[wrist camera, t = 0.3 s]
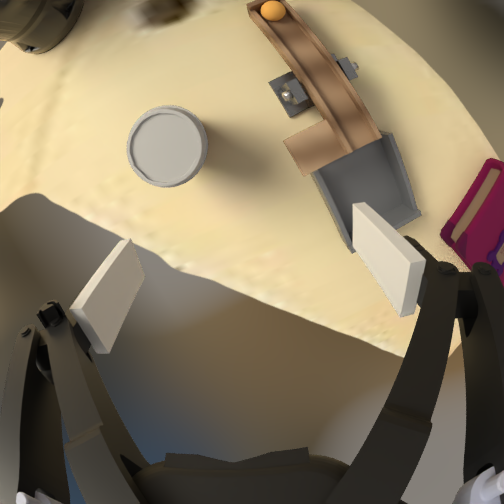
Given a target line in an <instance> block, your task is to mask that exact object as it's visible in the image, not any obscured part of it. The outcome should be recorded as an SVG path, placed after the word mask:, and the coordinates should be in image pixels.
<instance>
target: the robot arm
mask: <svg viewBox="0 0 504 504" xmlns="http://www.w3.org/2000/svg"><path fill="white" fill-rule="evenodd" d="M83 2H84V0H0V40H2V41H10V42H11V43H12V44H14V45H15V46H16V47H18V48H19V49H20V50H22V51H23V52H26V53H32V54H40V53H43V52H46V51H48V50H50V49H51V48H53V47H54V46H56V45H57V44H58V43H59V42H60V41H61V40H62V39H63V38H64V37H65V36H66V35H67V34H68V33H69V31H70V30H71V29H72V27H73V26H74V24H75V23H76V21H77V19H78V17H79V15H80V13H81V10H82V7H83ZM353 248H354V249H355V250H356V252H357V253H358V255H359V256H360V257H361V259H362V260H363V262H364V263H365V265H366V266H367V268H368V269H369V271H370V272H371V274H372V275H373V277H374V278H375V280H376V281H377V283H378V284H379V286H380V287H381V289H382V290H383V292H384V293H385V295H386V296H387V298H388V300H389V301H390V303H391V304H392V306H393V307H394V309H395V311H396V312H397V314H398V316H399V317H404V316H408V315H411V314H414V312H415V308H416V305H417V303H418V305H419V306H420V308H421V309H420V313H419V316H418V319H417V322H416V326H415V329H414V332H413V335H412V338H411V341H410V344H409V347H408V349H407V352H406V355H405V357H404V360H403V363H402V365H401V368H400V370H399V373H398V375H397V378H396V380H395V382H394V385H393V387H392V389H391V392H390V394H389V396H388V398H387V400H386V402H385V405H384V407H383V408H382V410H381V412H380V414H379V416H378V418H377V420H376V422H375V424H374V426H373V428H372V430H371V431H370V433H369V435H368V437H367V439H366V441H365V442H364V444H363V446H362V448H361V449H360V451H359V453H358V454H357V456H356V457H355V459H354V461H353V462H352V464H351V465H350V466H349V465H347V464H345V463H343V462H342V461H339V460H336V459H334V458H330V457H327V456H321V455H312V454H309V453H308V447H305V448H299V449H292V450H284V451H275V452H270V453H266V454H263V455H260V456H257V457H253V458H250V459H246V460H243V461H239V462H227V461H222V460H218V459H213V458H209V457H205V456H201V455H194V454H175V453H166V457H165V461H161V462H158V463H155V464H152V465H150V464H149V463H148V462H147V461H146V460H145V458H144V457H143V455H142V454H141V452H140V451H139V449H138V447H137V446H136V444H135V443H134V441H133V439H132V437H131V436H130V434H129V432H128V430H127V429H126V427H125V425H124V423H123V421H122V420H121V418H120V416H119V414H118V412H117V410H116V408H115V406H114V404H113V402H112V400H111V398H110V396H109V394H108V392H107V390H106V388H105V385H104V383H103V381H102V378H101V376H100V374H99V372H98V369H97V367H96V364H95V362H94V359H93V357H92V355H91V353H90V352H89V348H90V345H92V347H93V348H94V350H95V351H96V353H110V350H111V348H112V346H113V343H114V341H115V339H116V337H117V334H118V332H119V330H120V327H121V326H122V323H123V321H124V319H125V317H126V315H127V313H128V310H129V308H130V306H131V304H132V302H133V300H134V298H135V296H136V294H137V292H138V290H139V288H140V286H141V284H142V282H143V280H144V278H145V275H144V272H143V270H142V267H141V265H140V262H139V259H138V256H137V254H136V251H135V248H134V245H133V243H132V240H131V238H130V239H125V240H121V241H120V242H119V243H118V244H117V246H116V247H115V248H114V249H113V250H112V252H111V253H110V254H109V256H108V257H107V258H106V259H105V261H104V262H103V263H102V264H101V266H100V267H99V268H98V270H97V271H96V272H95V274H94V275H93V276H92V278H91V279H90V281H89V282H88V283H87V285H86V286H85V287H83V288H82V289H81V291H80V292H79V293H78V296H77V297H76V298H75V299H74V301H73V302H72V303H71V305H70V306H69V308H68V309H67V311H66V312H65V313H64V311H63V309H62V308H61V306H60V304H59V302H58V301H57V300H50V301H48V302H46V303H45V304H44V305H42V306H41V307H40V308H39V310H38V311H37V316H38V318H39V319H40V321H41V322H42V324H43V326H44V327H45V329H44V330H41V331H38V330H37V328H36V326H35V325H34V324H29V325H26V326H24V327H23V328H22V329H21V330H20V332H19V333H18V335H17V338H16V341H15V345H14V348H13V352H12V356H11V360H10V364H9V369H8V373H7V378H6V383H5V388H4V394H3V400H2V407H1V414H0V504H70V493H69V486H68V481H67V474H66V468H65V459H64V450H63V439H62V424H61V413H62V417H63V420H64V424H65V427H66V430H67V433H68V436H69V439H70V442H68V443H66V444H65V445H64V449H65V453H66V456H67V459H68V461H69V464H70V467H71V470H72V472H73V475H74V477H75V480H76V482H77V484H78V487H79V489H80V491H81V493H82V496H83V497H84V499H85V502H86V504H407V503H406V502H404V501H402V500H401V499H400V498H401V496H402V495H403V493H404V491H405V489H406V487H407V485H408V483H409V481H410V479H411V477H412V475H413V473H414V471H415V469H416V467H417V465H418V462H419V460H420V458H421V455H422V453H423V451H424V448H425V446H426V443H427V441H428V438H429V435H430V432H431V429H432V423H431V417H432V414H433V411H434V408H435V405H436V401H437V398H438V395H439V391H440V387H441V384H442V380H443V376H444V372H445V368H446V364H447V359H448V354H449V350H450V344H451V339H452V333H453V327H454V320H455V318H458V322H459V328H460V334H461V341H462V349H463V358H464V367H465V382H466V439H465V454H464V468H463V475H464V485H463V486H462V487H461V488H460V489H459V491H458V492H457V494H456V496H455V499H454V501H453V503H452V504H504V287H503V284H502V282H501V280H500V277H499V275H498V273H497V271H496V270H495V268H494V267H492V266H491V265H490V264H487V263H486V262H476V263H474V264H473V266H472V269H471V272H459V271H458V269H457V268H456V266H454V265H453V264H451V263H448V262H443V261H439V262H438V261H437V260H436V259H435V258H434V257H433V256H432V255H431V254H430V253H429V252H428V251H427V250H425V248H424V247H422V246H421V245H420V244H419V243H418V242H417V241H416V240H415V239H413V238H411V237H409V236H402V235H400V234H399V233H398V232H397V231H396V230H395V229H394V228H393V227H392V226H391V225H390V224H389V223H388V222H386V221H385V220H384V219H383V218H382V217H381V216H380V215H379V214H378V213H376V212H375V211H374V210H373V209H372V208H371V207H370V206H368V205H367V204H366V203H365V202H362V203H354V204H353ZM38 368H39V369H38Z"/></svg>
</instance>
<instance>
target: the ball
mask: <svg viewBox="0 0 504 504" xmlns="http://www.w3.org/2000/svg"><path fill="white" fill-rule="evenodd" d="M285 13H286V10H285V7H284V5H283V4H282V3H280V2H278V1H268V2H266V3H264V4H263V5H262V7H261V14H262V16H263V17H264V18H265V19H267V20H270V21H277V20H280V19H282V18H283V17H284V15H285Z"/></svg>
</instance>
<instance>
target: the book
mask: <svg viewBox="0 0 504 504" xmlns="http://www.w3.org/2000/svg"><path fill="white" fill-rule="evenodd" d="M440 236H441V238H442V239H443V240H444V241H445V242H446V244H447V245H448V246H450V247H451V248H452V249H453V250H454V251H455V252H456V254H457V255H458V256H459V257H460V258H461V259H462V261H463V262H464V263H465V264H466V266H467V267H468V268H469V269H470V271H471V269H472V266H473V264H474V263H476V262H486V263H487V264H490V265H491V266H492V267H494V268H495V270H496V271H497V273H498V275H499V277H500V280H501V282H502V284H503V287H504V162H502V161H499V160H497V159H493V158H490V159H487V160H486V162H485V163H484V165H483V167H482V169H481V170H480V172H479V174H478V176H477V177H476V179H475V181H474V182H473V184H472V186H471V187H470V189H469V191H468V192H467V194H466V195H465V197H464V198H463V200H462V202H461V203H460V205H459V206H458V208H457V209H456V211H455V212H454V214H453V215H452V216H451V218H450V219H449V220H448V221H447V223H446V224H445V226H444V227H443V228H442V230H441V233H440Z"/></svg>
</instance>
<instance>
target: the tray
mask: <svg viewBox="0 0 504 504" xmlns="http://www.w3.org/2000/svg"><path fill="white" fill-rule="evenodd" d="M379 132H380V134H381V136H382V138H380V139H377V140H375V141H373V142H371V143H368V144H366V145H364V146H362V147H360V148H358V149H356V150H354V151H353V152H351V153H349V154H346V155H344V156H342V157H340V158H338V159H336V160H334V161H333V162H331V163H329V164H327V165H325V166H323V167H321V168H319V169H317V170H315V171H313V172H311V173H310V174H311V176H312V178H313V180H314V181H315V183H316V185H317V187H318V189H319V191H320V193H321V195H322V197H323V199H324V201H325V204H326V206H327V208H328V210H329V212H330V214H331V216H332V218H333V220H334V222H335V225H336V227H337V229H338V231H339V233H340V236H341V238H342V240H343V241H344V243H345V244H346V246H347V247H348V249H349V250H350V252H351V253H352V254H353V253H354V252H356V250H355V249H354V248H353V204H354V203H362V202H365V203H366V204H367V205H368V206H370V207H371V208H372V209H373V210H374V211H375V212H376V213H378V214H379V215H380V216H381V217H382V218H383V219H384V220H385V221H386V222H388V223H389V224H390V225H391V226H392V227H393V228H394V229H395V230H396V229H398V228H400V227H402V226H403V225H405V224H407V223H409V222H410V221H412V220H414V219H416V218H417V217H419V216H421V211H420V210H418V209H417V206H416V202H415V198H414V195H413V192H412V188H411V185H410V182H409V179H408V175H407V172H406V169H405V166H404V164H403V161H402V158H401V155H400V152H399V150H398V147H397V144H396V142H395V139H394V137H393V134H392V133H389V132H383V131H379Z"/></svg>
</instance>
